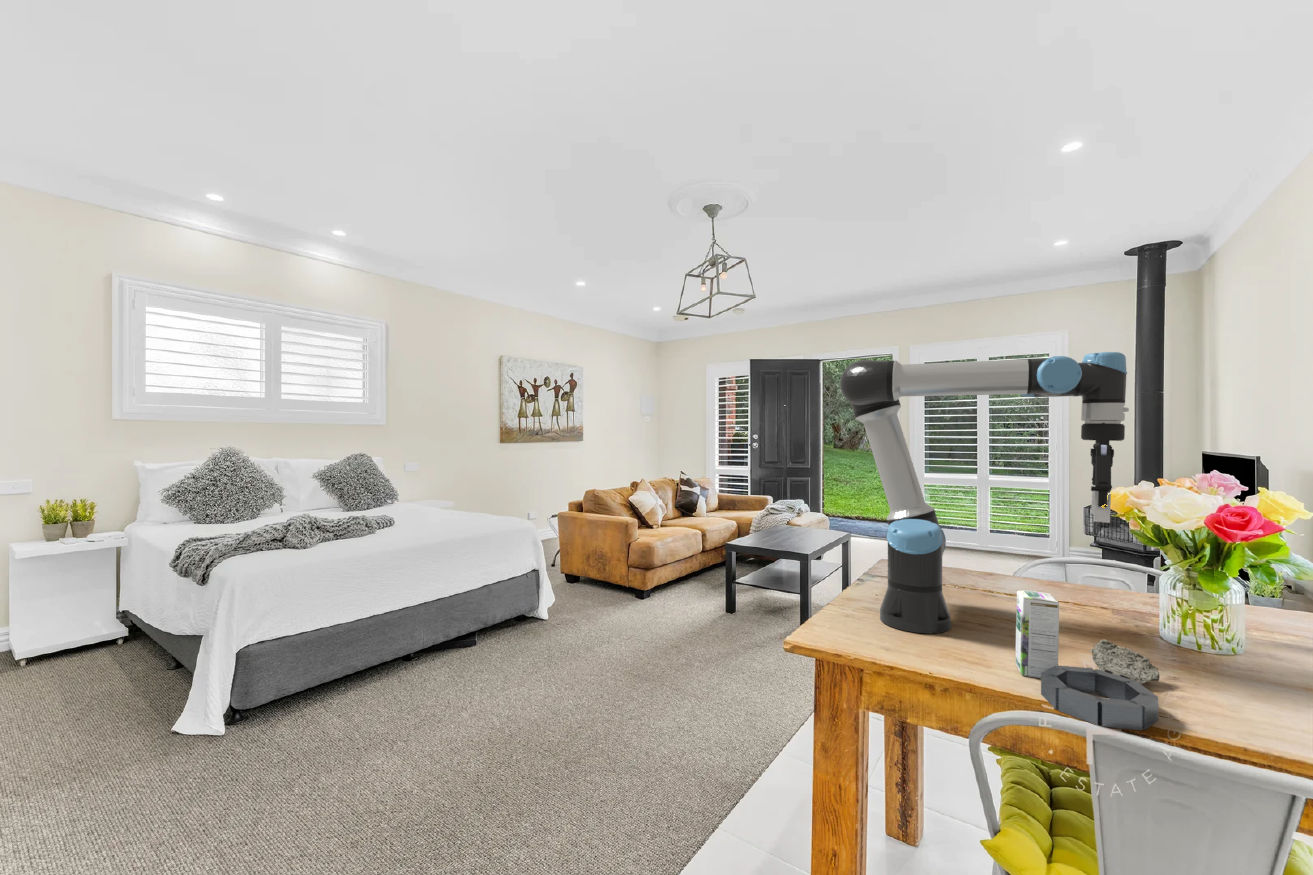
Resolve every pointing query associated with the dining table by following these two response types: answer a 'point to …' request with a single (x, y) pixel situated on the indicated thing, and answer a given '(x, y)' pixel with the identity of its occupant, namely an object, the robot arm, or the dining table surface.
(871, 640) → the dining table surface
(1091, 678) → the collar
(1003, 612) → the dining table surface
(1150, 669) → the rock sample
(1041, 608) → the syrup box
